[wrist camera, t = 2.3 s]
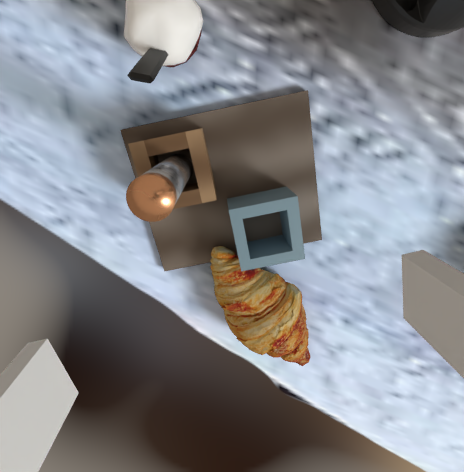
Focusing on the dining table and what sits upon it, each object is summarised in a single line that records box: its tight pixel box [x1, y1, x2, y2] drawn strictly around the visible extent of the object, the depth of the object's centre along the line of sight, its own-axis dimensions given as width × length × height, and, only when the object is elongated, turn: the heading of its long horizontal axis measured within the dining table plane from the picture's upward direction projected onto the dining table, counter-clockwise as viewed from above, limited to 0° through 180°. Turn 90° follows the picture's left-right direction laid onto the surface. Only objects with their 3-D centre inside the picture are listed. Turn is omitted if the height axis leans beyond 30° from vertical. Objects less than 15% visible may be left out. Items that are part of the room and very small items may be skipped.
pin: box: [126, 154, 193, 222], centre depth 25 cm, size 3×3×15 cm
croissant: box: [210, 246, 310, 366], centre depth 37 cm, size 21×10×8 cm, turn 37°
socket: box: [227, 187, 305, 271], centre depth 33 cm, size 7×7×5 cm
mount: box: [128, 128, 217, 209], centre depth 31 cm, size 7×7×4 cm
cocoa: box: [124, 0, 203, 83], centre depth 23 cm, size 10×6×12 cm
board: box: [121, 90, 322, 271], centre depth 34 cm, size 17×20×1 cm
